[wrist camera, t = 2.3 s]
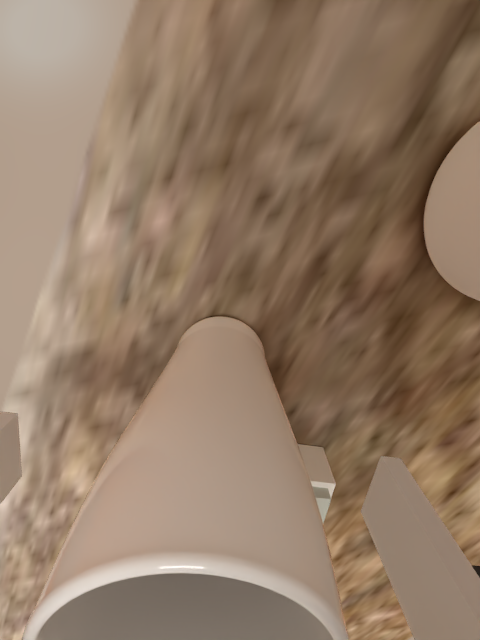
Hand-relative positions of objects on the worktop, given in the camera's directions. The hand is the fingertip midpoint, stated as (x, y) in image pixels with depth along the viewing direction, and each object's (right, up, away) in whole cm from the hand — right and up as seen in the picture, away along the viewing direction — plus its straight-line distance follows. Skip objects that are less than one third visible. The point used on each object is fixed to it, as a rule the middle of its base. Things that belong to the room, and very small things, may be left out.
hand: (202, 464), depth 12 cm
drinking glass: (0, +3, +9) cm, 9 cm away
